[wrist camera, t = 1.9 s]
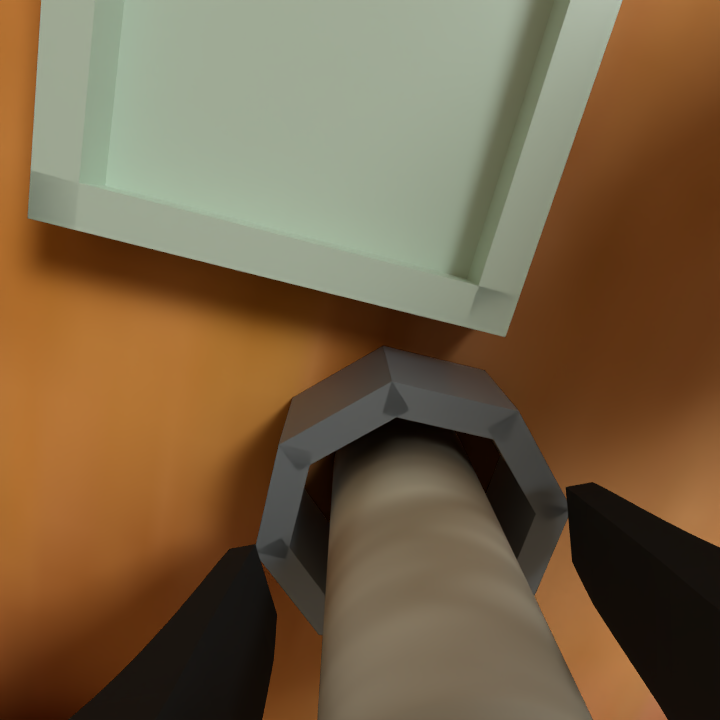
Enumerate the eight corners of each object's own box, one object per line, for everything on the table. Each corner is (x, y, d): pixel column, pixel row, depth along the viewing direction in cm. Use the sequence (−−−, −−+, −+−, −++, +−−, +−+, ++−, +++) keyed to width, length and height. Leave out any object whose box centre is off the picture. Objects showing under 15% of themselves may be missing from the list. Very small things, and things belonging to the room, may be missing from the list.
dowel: (483, 424, 15) (673, 729, 6) (443, 537, 16) (555, 930, 7) (351, 393, 14) (353, 672, 6) (320, 511, 15) (282, 893, 7)
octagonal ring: (554, 386, 14) (605, 431, 12) (476, 588, 16) (502, 669, 13) (308, 327, 14) (298, 359, 11) (258, 544, 16) (238, 619, 13)
